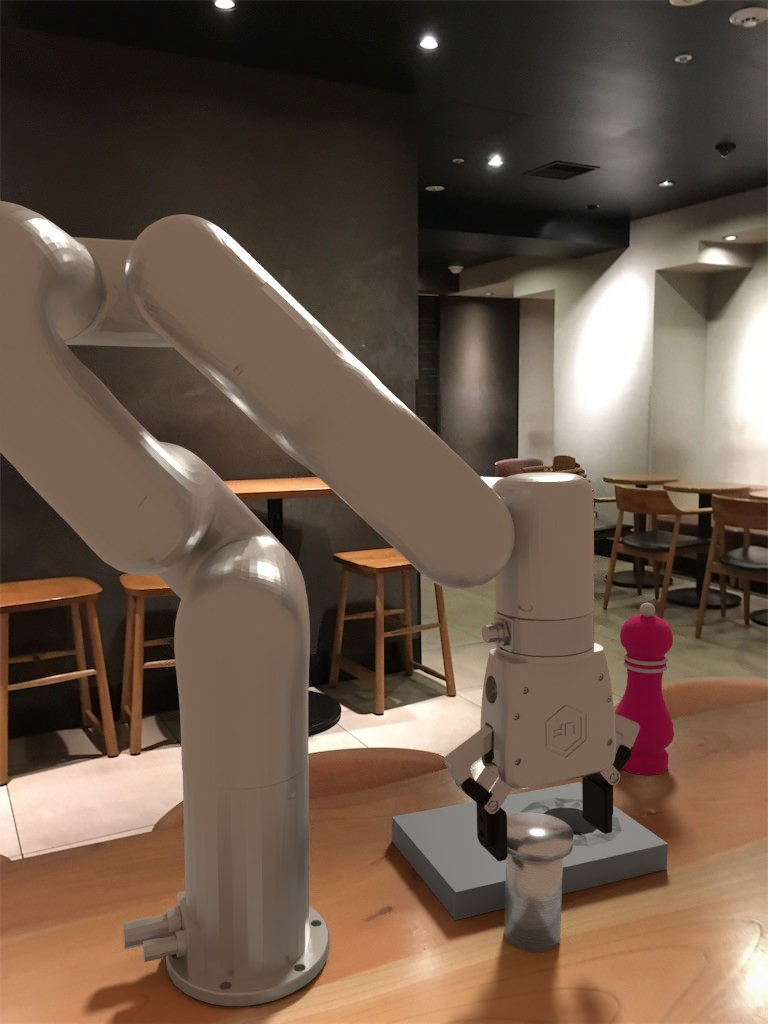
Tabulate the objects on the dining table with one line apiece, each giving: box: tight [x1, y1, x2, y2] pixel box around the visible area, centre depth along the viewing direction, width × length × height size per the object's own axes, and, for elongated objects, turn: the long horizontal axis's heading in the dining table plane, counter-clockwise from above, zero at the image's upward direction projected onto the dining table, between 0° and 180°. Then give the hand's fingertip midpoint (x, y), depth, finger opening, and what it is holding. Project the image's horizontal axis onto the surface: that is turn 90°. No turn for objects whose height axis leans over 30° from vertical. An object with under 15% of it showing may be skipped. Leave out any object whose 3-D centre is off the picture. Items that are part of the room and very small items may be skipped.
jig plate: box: [391, 781, 669, 921], centre depth 80 cm, size 22×14×2 cm, turn 112°
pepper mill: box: [614, 602, 675, 776], centre depth 100 cm, size 7×7×20 cm
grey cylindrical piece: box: [503, 812, 574, 953], centre depth 68 cm, size 6×6×9 cm
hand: (546, 838), depth 67 cm, fingers open, 9 cm apart
